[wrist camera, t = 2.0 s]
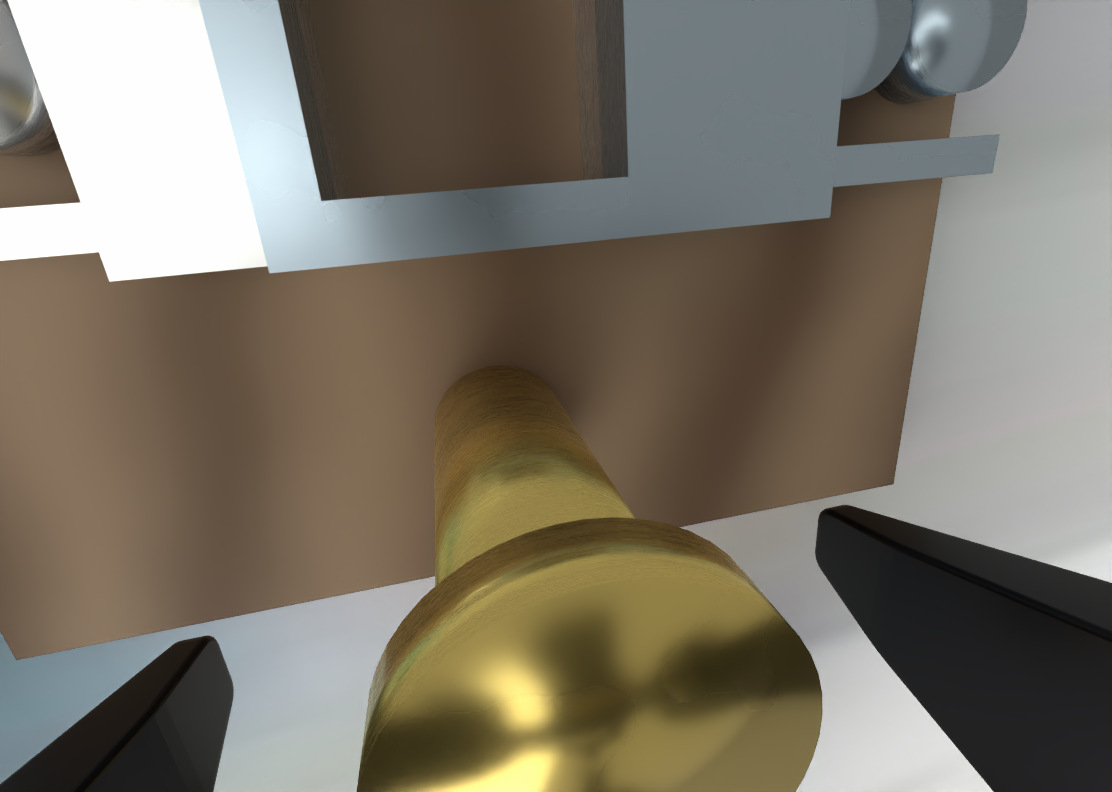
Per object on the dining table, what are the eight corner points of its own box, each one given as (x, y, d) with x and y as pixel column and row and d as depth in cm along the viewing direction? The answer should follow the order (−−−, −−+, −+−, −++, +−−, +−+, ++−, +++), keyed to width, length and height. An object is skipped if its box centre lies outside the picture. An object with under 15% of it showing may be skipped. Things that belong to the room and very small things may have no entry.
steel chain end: (-176, 303, 10) (-276, 318, 8) (-458, -205, 7) (-663, -299, 6) (627, 226, 12) (651, 229, 11) (615, -166, 10) (644, -225, 9)
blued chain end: (309, 257, 11) (269, 273, 9) (207, -181, 9) (106, -356, 6) (936, 196, 14) (1060, 194, 11) (990, -152, 12) (1168, -266, 9)
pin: (487, 539, 14) (563, 989, 6) (361, 421, 13) (229, 831, 4) (621, 431, 14) (887, 747, 6) (512, 296, 12) (674, 477, 4)
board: (56, 615, 14) (15, 660, 13) (-345, -180, 9) (-495, -255, 7) (858, 463, 18) (893, 484, 17) (938, -141, 13) (999, -183, 11)
